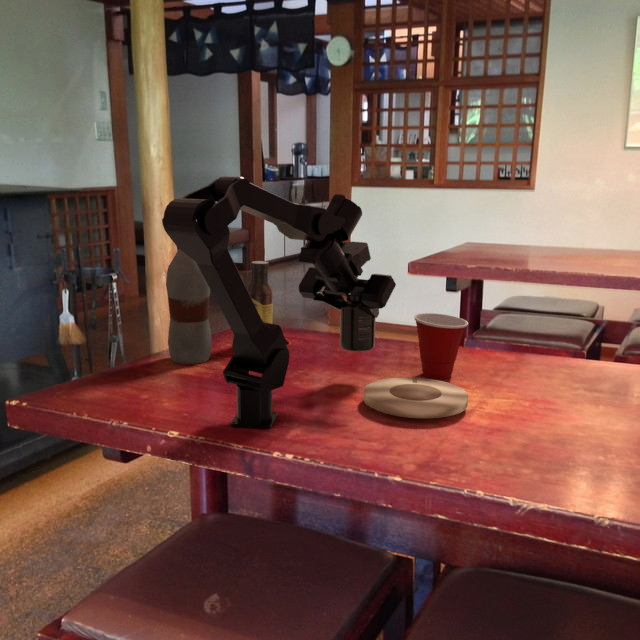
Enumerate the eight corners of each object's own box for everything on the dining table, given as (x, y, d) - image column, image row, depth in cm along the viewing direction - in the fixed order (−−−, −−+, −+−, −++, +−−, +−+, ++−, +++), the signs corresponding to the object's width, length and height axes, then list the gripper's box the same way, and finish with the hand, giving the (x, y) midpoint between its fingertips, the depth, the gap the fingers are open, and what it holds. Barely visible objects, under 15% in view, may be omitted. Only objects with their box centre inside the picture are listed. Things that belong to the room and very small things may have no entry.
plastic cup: (461, 385, 129) (464, 325, 127) (406, 379, 133) (408, 320, 130) (468, 371, 139) (472, 314, 137) (417, 365, 143) (419, 310, 140)
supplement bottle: (375, 344, 133) (377, 285, 131) (373, 352, 126) (376, 290, 124) (341, 343, 134) (342, 283, 131) (337, 351, 127) (339, 288, 125)
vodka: (161, 363, 141) (156, 220, 135) (176, 352, 150) (172, 218, 144) (204, 366, 140) (201, 221, 134) (217, 355, 149) (215, 219, 143)
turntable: (472, 421, 107) (473, 411, 107) (360, 414, 109) (360, 405, 109) (463, 387, 125) (463, 379, 124) (366, 382, 127) (366, 374, 126)
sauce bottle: (242, 343, 160) (241, 260, 156) (266, 341, 163) (266, 259, 158) (251, 349, 154) (250, 263, 150) (276, 347, 157) (276, 262, 153)
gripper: (392, 230, 117) (420, 286, 128) (308, 225, 128) (340, 276, 139) (366, 279, 112) (397, 333, 123) (281, 269, 123) (316, 319, 134)
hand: (361, 313), depth 130 cm, fingers closed on supplement bottle, 7 cm apart
